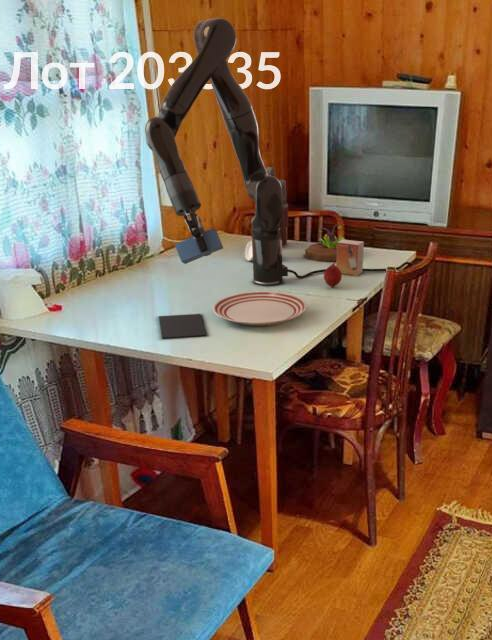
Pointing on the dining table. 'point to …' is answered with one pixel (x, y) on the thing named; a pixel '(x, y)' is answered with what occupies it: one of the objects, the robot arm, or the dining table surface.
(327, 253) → the plant
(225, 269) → the dining table surface
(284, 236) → the toy vending machine
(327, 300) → the dining table surface
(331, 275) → the onion
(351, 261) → the small box
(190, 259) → the blue block
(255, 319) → the dinner plate
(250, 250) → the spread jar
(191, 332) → the mat
